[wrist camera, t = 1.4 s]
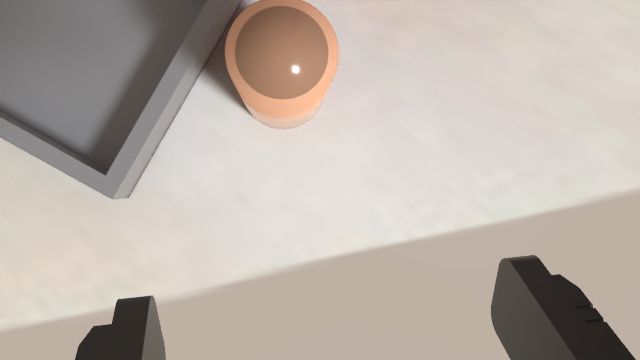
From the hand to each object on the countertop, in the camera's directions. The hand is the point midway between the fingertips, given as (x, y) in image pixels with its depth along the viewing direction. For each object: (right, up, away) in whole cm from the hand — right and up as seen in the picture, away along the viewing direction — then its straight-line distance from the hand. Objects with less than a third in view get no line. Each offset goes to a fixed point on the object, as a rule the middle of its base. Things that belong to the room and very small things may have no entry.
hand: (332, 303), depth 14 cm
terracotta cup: (-3, +9, +24) cm, 26 cm away
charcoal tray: (-15, +12, +23) cm, 30 cm away
